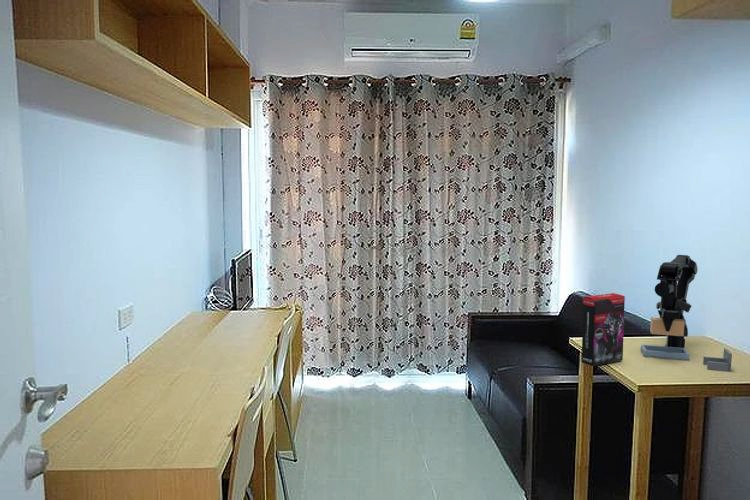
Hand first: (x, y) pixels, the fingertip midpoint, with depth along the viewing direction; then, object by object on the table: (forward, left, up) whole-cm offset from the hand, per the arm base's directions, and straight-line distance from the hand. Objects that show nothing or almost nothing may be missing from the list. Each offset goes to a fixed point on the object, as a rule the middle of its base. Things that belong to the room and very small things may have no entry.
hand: (666, 329), depth 252 cm
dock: (+17, -12, -11) cm, 23 cm away
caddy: (0, 0, -2) cm, 2 cm away
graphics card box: (-26, -19, -11) cm, 34 cm away
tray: (0, 0, -11) cm, 11 cm away
